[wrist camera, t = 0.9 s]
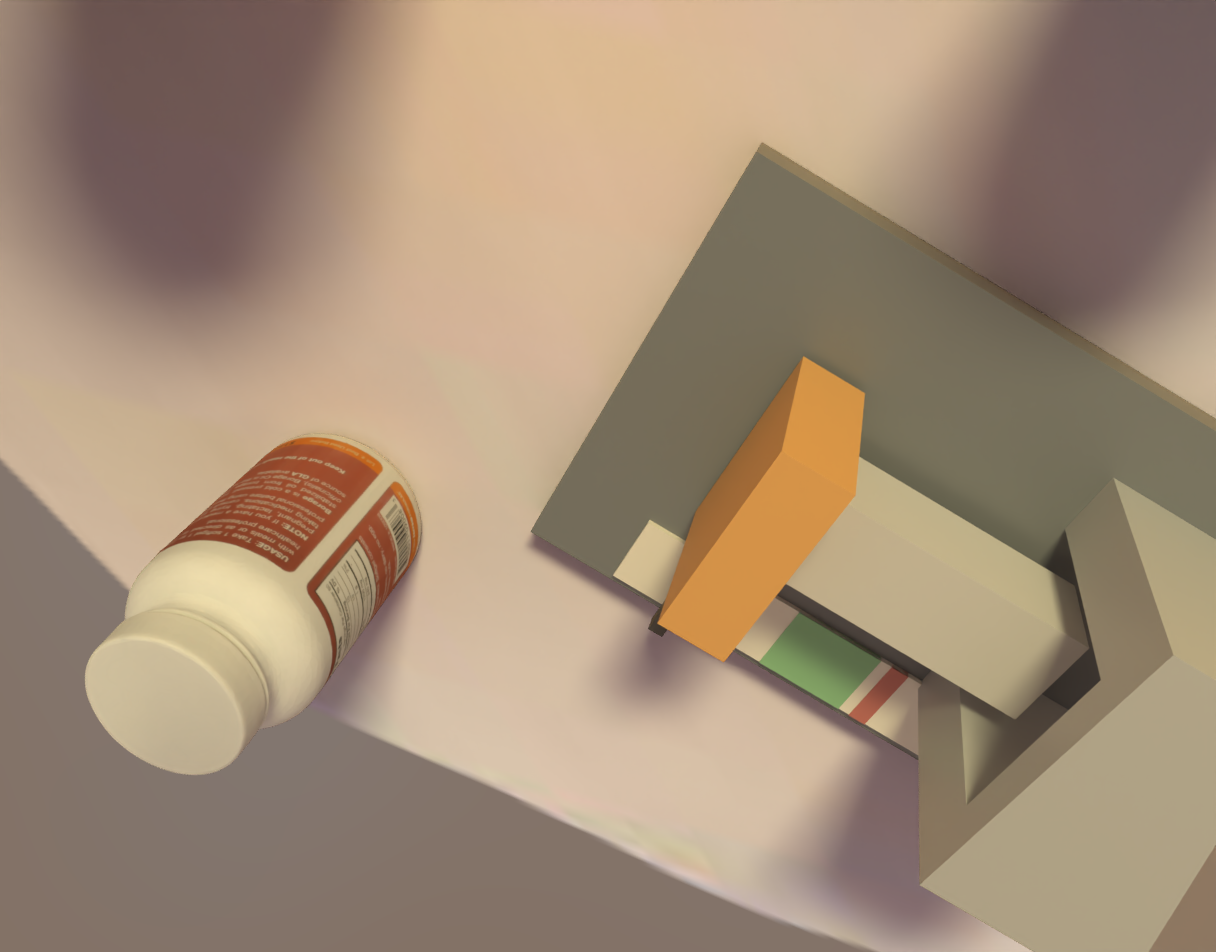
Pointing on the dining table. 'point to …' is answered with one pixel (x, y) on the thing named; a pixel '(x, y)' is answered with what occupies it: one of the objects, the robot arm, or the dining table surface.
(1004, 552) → the plunger
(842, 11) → the dining table surface
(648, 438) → the board
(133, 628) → the pill bottle
